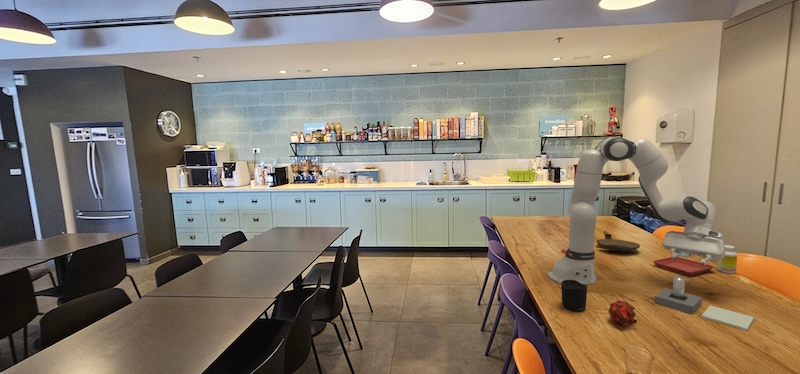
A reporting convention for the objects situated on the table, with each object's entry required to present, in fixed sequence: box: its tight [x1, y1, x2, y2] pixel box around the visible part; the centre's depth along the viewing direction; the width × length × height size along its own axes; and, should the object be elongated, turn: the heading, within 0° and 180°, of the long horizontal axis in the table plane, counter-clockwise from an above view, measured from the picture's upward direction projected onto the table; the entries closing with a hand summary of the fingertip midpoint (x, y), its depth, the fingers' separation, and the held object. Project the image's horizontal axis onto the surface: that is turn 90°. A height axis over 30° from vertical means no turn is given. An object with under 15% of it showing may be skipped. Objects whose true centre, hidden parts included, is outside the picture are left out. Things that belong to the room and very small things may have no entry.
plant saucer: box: [652, 256, 715, 277], centre depth 170 cm, size 18×18×3 cm
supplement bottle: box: [716, 244, 738, 274], centre depth 164 cm, size 7×7×13 cm
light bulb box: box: [675, 251, 695, 258], centre depth 190 cm, size 11×7×11 cm, turn 117°
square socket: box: [654, 287, 703, 315], centre depth 135 cm, size 12×12×3 cm
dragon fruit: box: [607, 300, 638, 326], centre depth 123 cm, size 8×8×12 cm
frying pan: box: [596, 230, 641, 252], centre depth 205 cm, size 22×30×8 cm
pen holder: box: [560, 280, 588, 313], centre depth 136 cm, size 9×9×10 cm
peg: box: [672, 275, 686, 301], centre depth 135 cm, size 4×4×11 cm
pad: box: [701, 305, 755, 331], centre depth 123 cm, size 12×12×1 cm
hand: (688, 261), depth 140 cm, fingers open, 8 cm apart
